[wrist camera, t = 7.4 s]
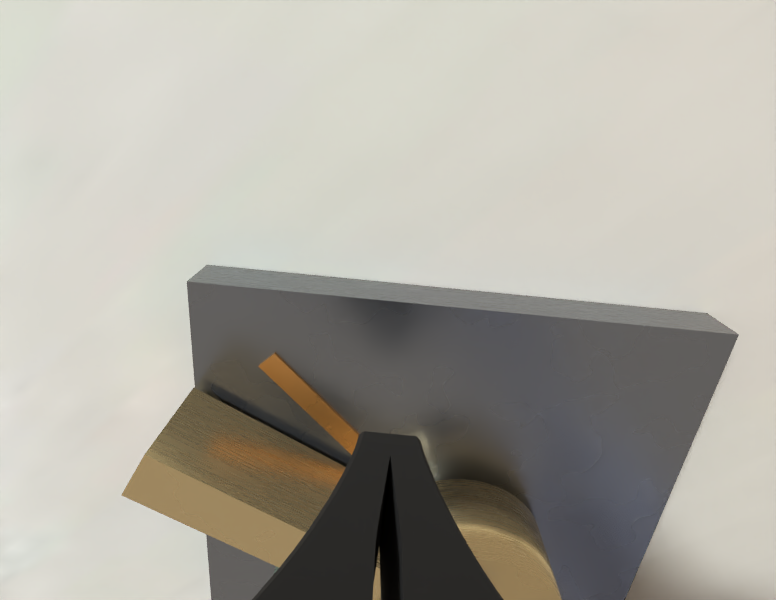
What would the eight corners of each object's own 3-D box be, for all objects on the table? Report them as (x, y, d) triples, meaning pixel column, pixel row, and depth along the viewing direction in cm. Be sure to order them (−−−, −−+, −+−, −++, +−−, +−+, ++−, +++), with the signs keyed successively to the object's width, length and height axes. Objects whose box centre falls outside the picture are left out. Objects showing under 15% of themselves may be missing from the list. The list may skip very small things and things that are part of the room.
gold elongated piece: (575, 529, 16) (611, 616, 13) (470, 621, 18) (482, 714, 15) (224, 334, 14) (179, 392, 11) (147, 467, 16) (92, 545, 13)
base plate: (580, 634, 21) (609, 718, 18) (227, 603, 21) (199, 682, 18) (707, 313, 15) (780, 362, 12) (207, 264, 15) (160, 303, 12)
